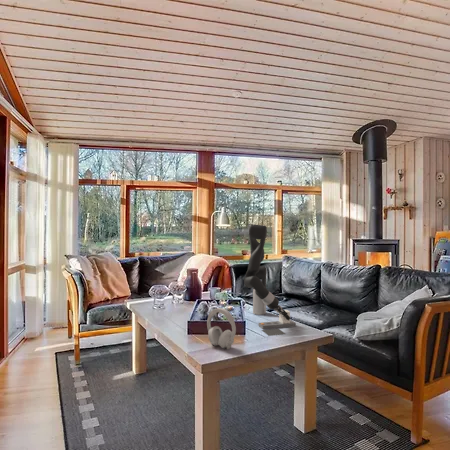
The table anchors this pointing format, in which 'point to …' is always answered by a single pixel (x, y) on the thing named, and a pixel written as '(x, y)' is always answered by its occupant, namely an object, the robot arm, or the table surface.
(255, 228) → the robot arm
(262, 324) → the power strip
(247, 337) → the table surface
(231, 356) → the table surface
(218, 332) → the headphones
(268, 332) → the mat
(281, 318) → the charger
